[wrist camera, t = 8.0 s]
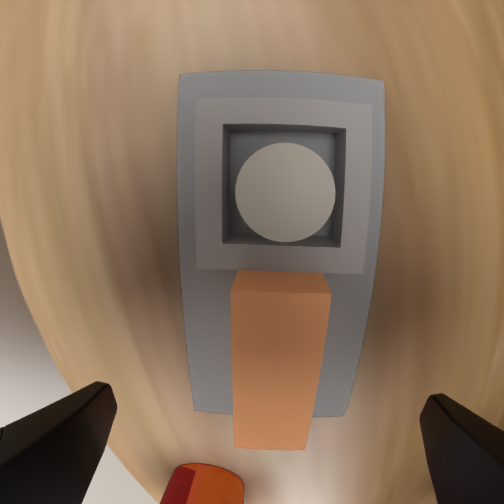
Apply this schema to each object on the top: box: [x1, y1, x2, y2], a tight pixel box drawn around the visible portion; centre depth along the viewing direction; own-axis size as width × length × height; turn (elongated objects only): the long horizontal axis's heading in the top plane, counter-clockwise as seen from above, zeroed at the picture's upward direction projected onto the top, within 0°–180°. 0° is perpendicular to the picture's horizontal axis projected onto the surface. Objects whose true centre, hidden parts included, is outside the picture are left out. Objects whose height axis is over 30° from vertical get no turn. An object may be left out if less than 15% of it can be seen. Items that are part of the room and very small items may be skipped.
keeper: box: [177, 70, 385, 417], centre depth 11 cm, size 9×18×6 cm, turn 179°
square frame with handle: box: [195, 97, 372, 450], centre depth 12 cm, size 14×6×4 cm, turn 179°
